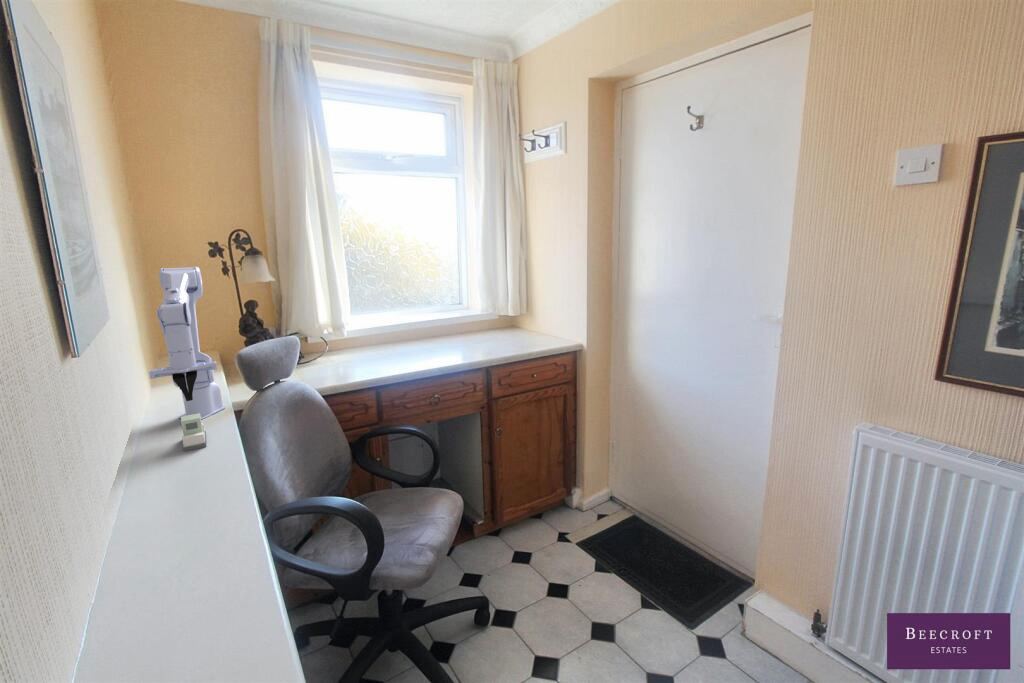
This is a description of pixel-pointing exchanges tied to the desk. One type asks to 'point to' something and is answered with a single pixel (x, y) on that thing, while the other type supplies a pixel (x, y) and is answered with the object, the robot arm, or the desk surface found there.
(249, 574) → the desk surface
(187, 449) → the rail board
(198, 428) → the sage module
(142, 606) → the desk surface
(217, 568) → the desk surface
